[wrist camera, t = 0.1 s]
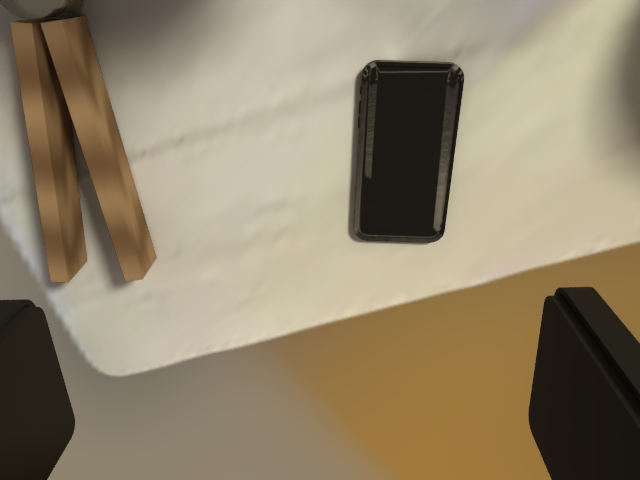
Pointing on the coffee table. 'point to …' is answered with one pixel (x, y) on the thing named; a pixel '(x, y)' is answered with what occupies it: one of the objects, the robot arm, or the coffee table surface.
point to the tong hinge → (41, 7)
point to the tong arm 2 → (100, 142)
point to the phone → (406, 149)
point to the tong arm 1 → (50, 150)
